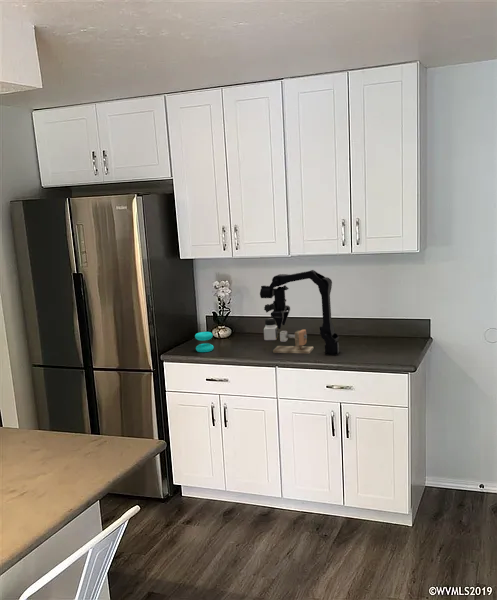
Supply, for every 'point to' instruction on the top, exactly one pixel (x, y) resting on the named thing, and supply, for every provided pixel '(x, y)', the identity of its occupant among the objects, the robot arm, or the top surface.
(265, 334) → the medicine bottle
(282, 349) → the bracket
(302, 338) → the spacer
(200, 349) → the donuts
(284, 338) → the shaft
